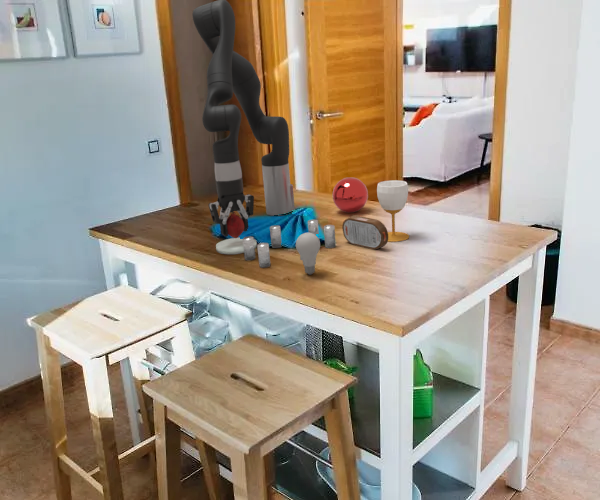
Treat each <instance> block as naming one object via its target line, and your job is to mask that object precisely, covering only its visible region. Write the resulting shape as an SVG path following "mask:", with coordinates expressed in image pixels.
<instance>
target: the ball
mask: <svg viewBox="0 0 600 500" xmlns="http://www.w3.org/2000/svg"><path fill="white" fill-rule="evenodd" d="M332 190H333V191H332V200H333V203H334V205H335V206H336V208H337V209H339V211H341V212H344V213H348V214H349V213H351V214H352V213H357V212H358V211H360V210H362V209H363V208H364V207H365V206H366V204H367V202H368V198H369V193H368V192H369V191H368V188H367V186H366V184H364V182H363V181H362V180H360V179H359V178H357V177H343V178H342V179H340V180H339V181H338V182H337V183H336V184H335V185H334V187H333V189H332Z"/></svg>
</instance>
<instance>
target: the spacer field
mask: <svg viewBox="0 0 600 500" xmlns="http://www.w3.org/2000/svg"><path fill="white" fill-rule="evenodd" d="M307 229H308V230H307V231H308V232H307V233H313V234H315V235H316V234H319V233H320V230H319V220H318V219H309V220H307ZM335 230H336V227H335V225H334V224H326V225H324V226H323V234H324V236H323V237H324V247H325V248H328V249H333V248H336V246H337V245H336V231H335ZM269 231H270V232H269V233H270V234H269V235H270V242H271V248H272V249H280V248H282V247H283V245H282V246H281V243H282V231H281V226H280V225H275V224H274V225H271V226H269ZM319 235H320V234H319ZM254 239H255V238H254V236H244V238H243V247H244V253H243V255H244V260H245V261H254V260H256V248H257V254H258V255H257V257H258V266H259V268H270V267H271V258H270V246H269V243H268V242H260V243H257V247H256V248H254ZM299 258H300V261H303V260H302V257H301V256H300V257H299Z"/></svg>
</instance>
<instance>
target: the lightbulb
mask: <svg viewBox="0 0 600 500" xmlns="http://www.w3.org/2000/svg"><path fill="white" fill-rule="evenodd" d="M295 248H296V251H297V252H298V254H299V255H300V256H301V257H302V260H301V261H302V264H303V266H304V273H305V274H308V275H309V276H310V275H313V274H314V273H316V260H317V256H318V254H319V251H320V249H321V242H320V237H319V238H318V237H317V236H316V235H315V234H313V233H309V232H304V233H302V234H300V235H299V236H298V237H297V239H296V241H295Z"/></svg>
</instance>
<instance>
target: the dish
mask: <svg viewBox="0 0 600 500" xmlns="http://www.w3.org/2000/svg"><path fill="white" fill-rule="evenodd" d="M253 239H254V248H255V249H256V248H257V244H258V243H257V240H256V239H255V238H253ZM215 247H216V248H215V249H216V250H215V251H216V253H219V254H222V255H241V254H244V247H243V239H240V237H238V238H233V237H231V238H228V239H227V238H226V239H224V240H221V241H219V242H218V243H216V245H215Z"/></svg>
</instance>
